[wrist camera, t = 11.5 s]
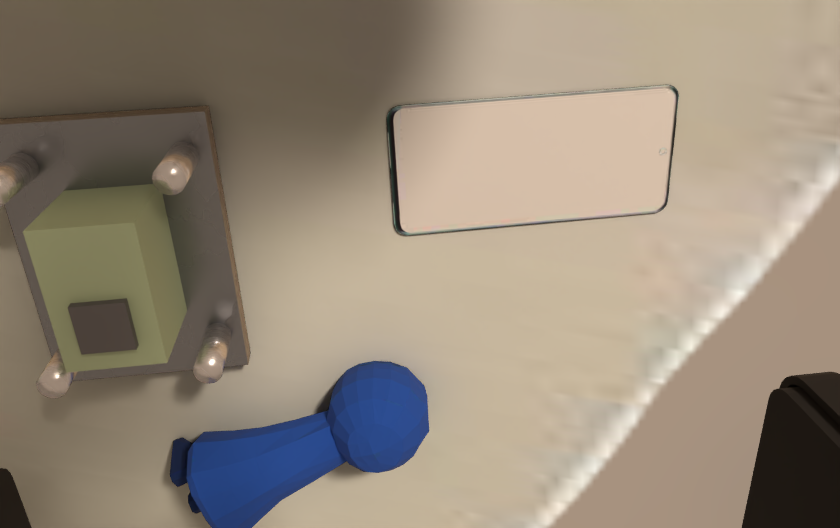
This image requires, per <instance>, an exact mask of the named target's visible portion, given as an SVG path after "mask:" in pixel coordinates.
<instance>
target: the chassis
mask: <svg viewBox="0 0 840 528" xmlns="http://www.w3.org/2000/svg"><path fill="white" fill-rule="evenodd" d="M146 184H154V186H155V188H156V189H157V190H158V191H159V192H161V193H162V194H163V199H164V204H165V209H166V213H167V218H168V223H169V227H170V232H171V237H172V241H173V246H174V251H175V256H176V260H177V265H178V270H179V274H180V279H181V284H182V288H183V293H184V298H185V303H186V307H187V312H186V315H185V317H184V320H183V323H182V325H181V328H180V331H179V333H178V336H177V338H176V341H175V344H174V346H173V349H172V352H171V354H170V357H169V360H168V362H167V363H162V364H151V365H141V366H130V367H120V368H109V369H99V370H88V371H78V372H68V373H66V369H65V366H64V363H63V360H62V357H61V353H60V350H59V347H58V344H57V340H56V337H55V334H54V331H53V328H52V324H51V321H50V318H49V315H48V311H47V308H46V305H45V302H44V299H43V295H42V292H41V289H40V286H39V282H38V279H37V276H36V273H35V270H34V266H33V263H32V260H31V257H30V253H29V250H28V247H27V244H26V241H25V237H24V234H23V231H24V230H25V229H26V228H27V227H28V226H29V225H30V224H31V223H32V222H33V221H34V220H35V219H36V218H37V217H38V216H39V215H40V214H41V213H42V212H43V211H44V210H45V209H46V208H47V207H48V206H49V205H50V204H51V203H52V202H53V201H54V200H55V199H56V198H57V197H58V196H59V195H60V194H61V193H62V192H63V191H67V190H80V189H93V188H107V187H120V186H133V185H146ZM3 205H5V208H6V211H7V215H8V218H9V221H10V224H11V227H12V231H13V234H14V237H15V240H16V243H17V247H18V250H19V253H20V256H21V259H22V263H23V266H24V269H25V272H26V275H27V279H28V282H29V285H30V288H31V291H32V295H33V298H34V301H35V304H36V307H37V311H38V314H39V317H40V320H41V323H42V327H43V330H44V333H45V336H46V339H47V343H48V346H49V349H50V352H51V355H52V358H51V360H50V362H49V363H48V365H47V366H46V368H45V369H44V371H43V372H42V374H41V376H40V377H39V379H38V380H37V383H36V386H37V389H38V391H39V392H40V393H41V394H42V395H44V396H46V397H49V398H59V397H61V396H63V395H64V394H65V393H66V392H67V390H68V388H69V386H70V385H71V383H72V381H78V380H89V379H100V378H110V377H121V376H132V375H142V374H153V373H164V372H174V371H185V370H193V374H194V376H195V377H196V379H197V380H199V381H200V382H203V383H214V382H216V381H218V380H219V379H220V378H221V376H222V373H223V369H224V367H228V366H238V365H248V363H249V358H250V347H249V341H248V335H247V329H246V323H245V317H244V311H243V305H242V300H241V294H240V288H239V282H238V276H237V270H236V264H235V258H234V252H233V246H232V240H231V235H230V229H229V223H228V217H227V211H226V205H225V199H224V193H223V187H222V181H221V175H220V170H219V164H218V158H217V152H216V146H215V140H214V134H213V128H212V122H211V116H210V110H209V106H194V107H178V108H163V109H147V110H132V111H116V112H101V113H85V114H70V115H54V116H39V117H23V118H8V119H0V207H1V206H3Z"/></svg>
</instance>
